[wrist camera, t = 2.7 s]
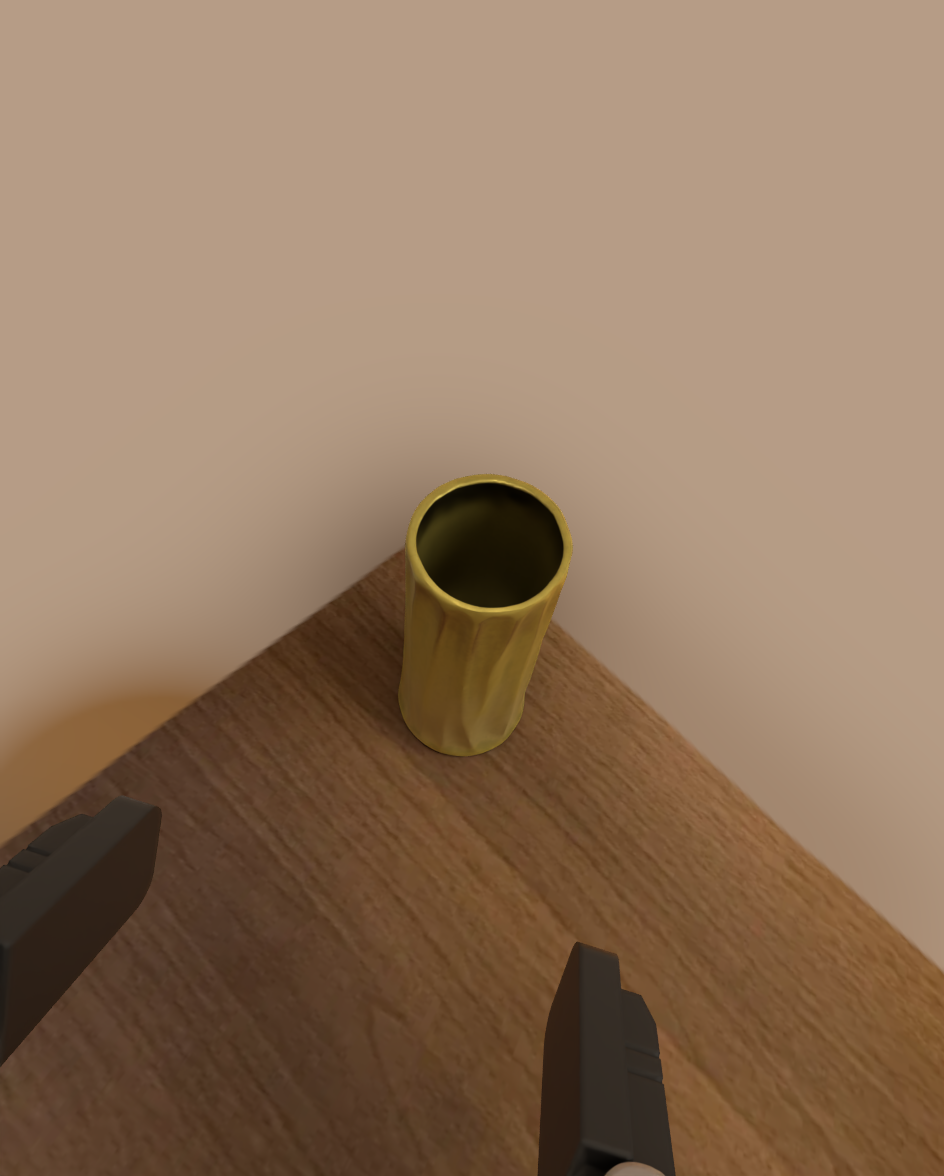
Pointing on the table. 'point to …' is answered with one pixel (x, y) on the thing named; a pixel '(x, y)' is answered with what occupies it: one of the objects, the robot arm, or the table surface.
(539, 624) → the vase
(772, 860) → the table surface
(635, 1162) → the robot arm
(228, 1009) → the table surface
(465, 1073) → the table surface
